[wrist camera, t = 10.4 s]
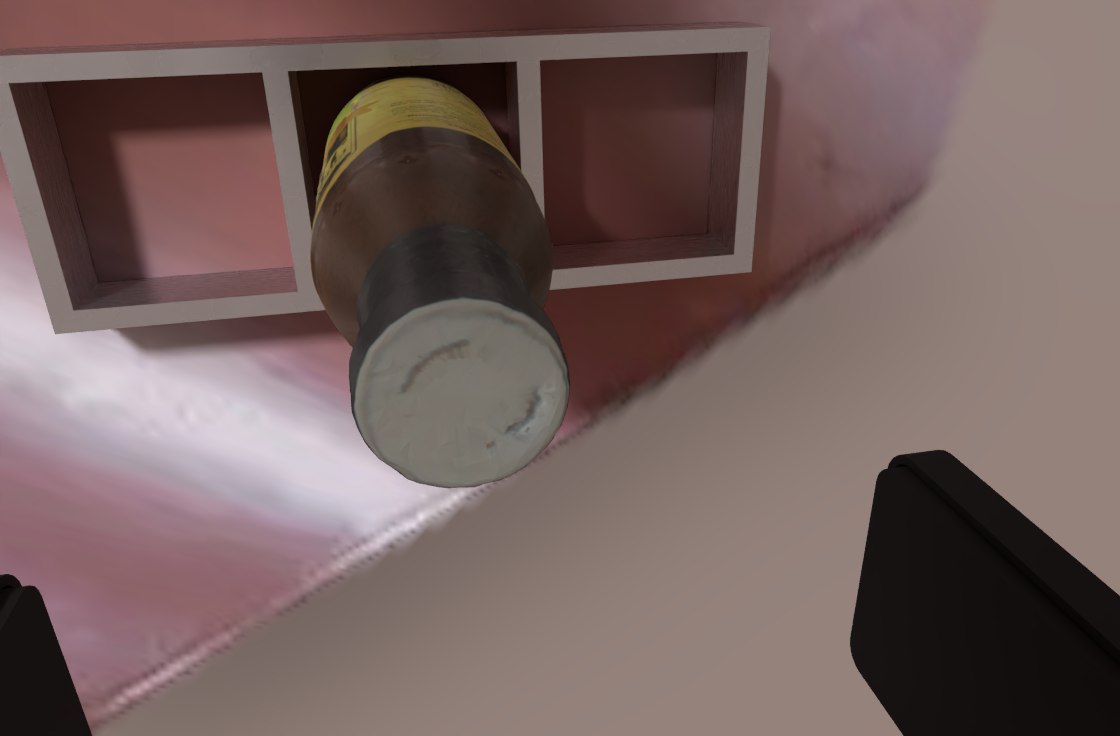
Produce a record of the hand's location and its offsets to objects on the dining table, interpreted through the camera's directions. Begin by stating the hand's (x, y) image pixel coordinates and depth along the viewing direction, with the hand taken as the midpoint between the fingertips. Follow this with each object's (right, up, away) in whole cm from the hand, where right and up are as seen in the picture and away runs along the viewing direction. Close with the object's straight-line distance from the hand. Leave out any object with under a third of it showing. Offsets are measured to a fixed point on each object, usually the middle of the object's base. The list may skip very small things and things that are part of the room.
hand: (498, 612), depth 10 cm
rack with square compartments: (-5, +11, +23) cm, 26 cm away
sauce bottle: (-5, +11, +23) cm, 26 cm away
